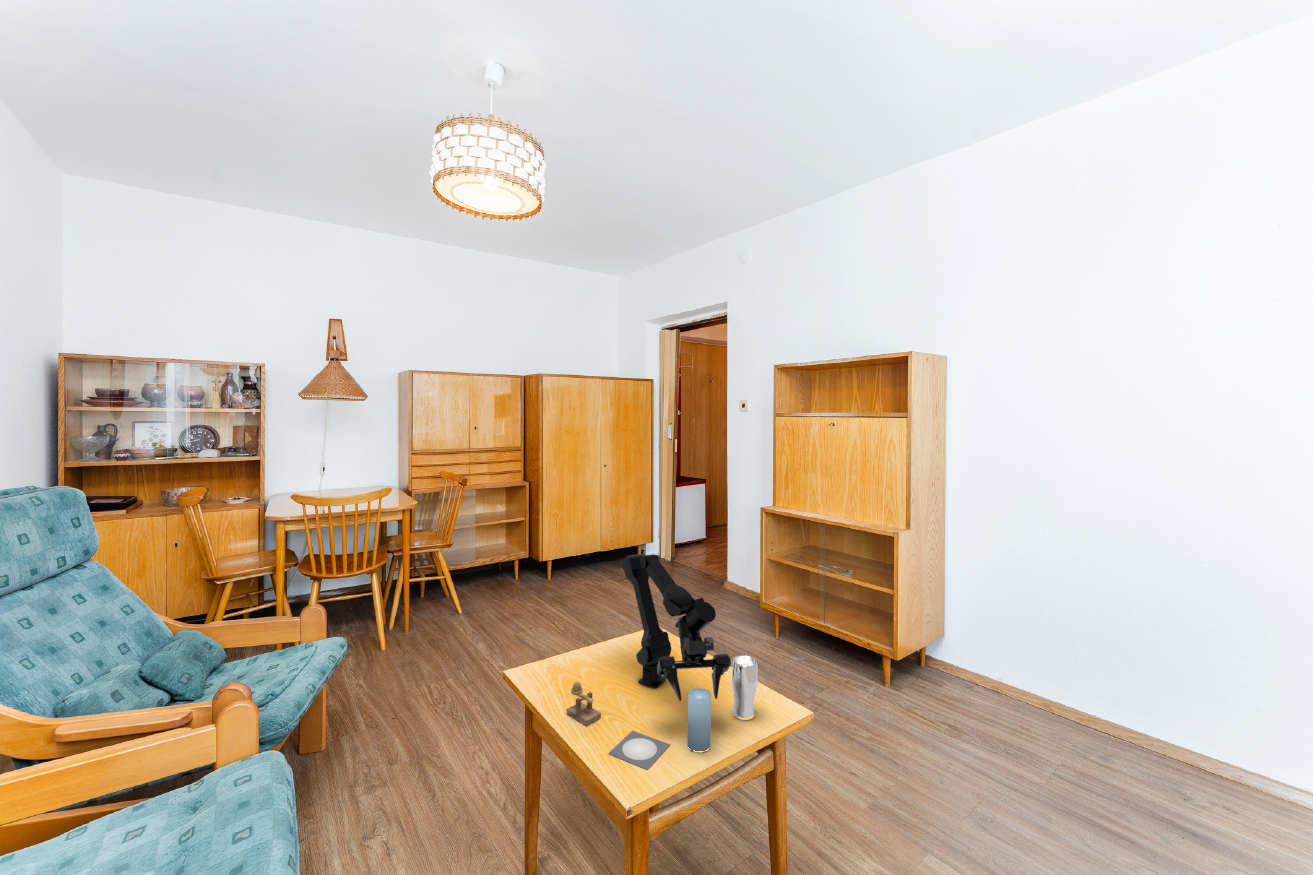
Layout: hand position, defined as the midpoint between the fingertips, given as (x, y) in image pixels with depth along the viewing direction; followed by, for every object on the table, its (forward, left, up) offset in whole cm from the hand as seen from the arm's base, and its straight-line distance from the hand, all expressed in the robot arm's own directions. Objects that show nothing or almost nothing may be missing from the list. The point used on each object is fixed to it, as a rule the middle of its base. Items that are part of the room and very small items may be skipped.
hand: (698, 699), depth 133 cm
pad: (+11, -10, -10) cm, 18 cm away
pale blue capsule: (+2, +1, -10) cm, 10 cm away
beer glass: (-17, +6, -10) cm, 21 cm away
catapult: (+7, -30, -10) cm, 33 cm away
